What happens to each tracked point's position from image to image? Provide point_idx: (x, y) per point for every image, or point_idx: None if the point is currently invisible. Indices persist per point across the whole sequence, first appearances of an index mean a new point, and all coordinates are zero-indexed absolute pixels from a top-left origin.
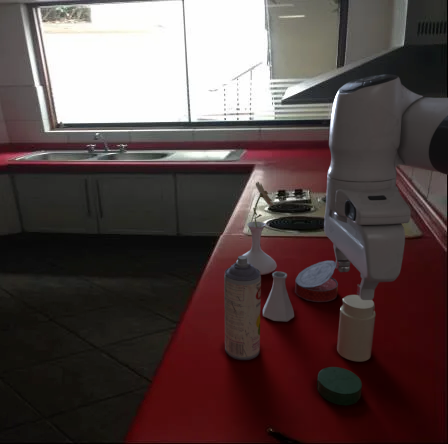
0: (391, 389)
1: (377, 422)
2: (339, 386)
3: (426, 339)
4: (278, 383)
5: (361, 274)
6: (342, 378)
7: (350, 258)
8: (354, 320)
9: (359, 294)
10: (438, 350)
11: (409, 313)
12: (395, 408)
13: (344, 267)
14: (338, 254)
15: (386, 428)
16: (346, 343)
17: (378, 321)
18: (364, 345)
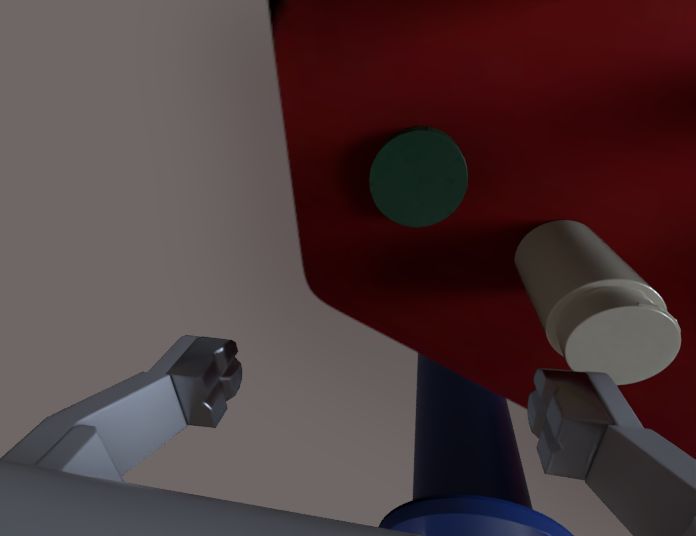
0: (418, 276)
1: (332, 216)
2: (393, 174)
3: None
4: (456, 18)
5: (66, 446)
6: (421, 190)
7: (92, 527)
8: (558, 296)
9: (192, 344)
10: (524, 400)
11: (680, 427)
12: (368, 260)
13: (542, 413)
14: (653, 477)
15: (319, 225)
16: (546, 245)
17: None
18: (524, 282)
